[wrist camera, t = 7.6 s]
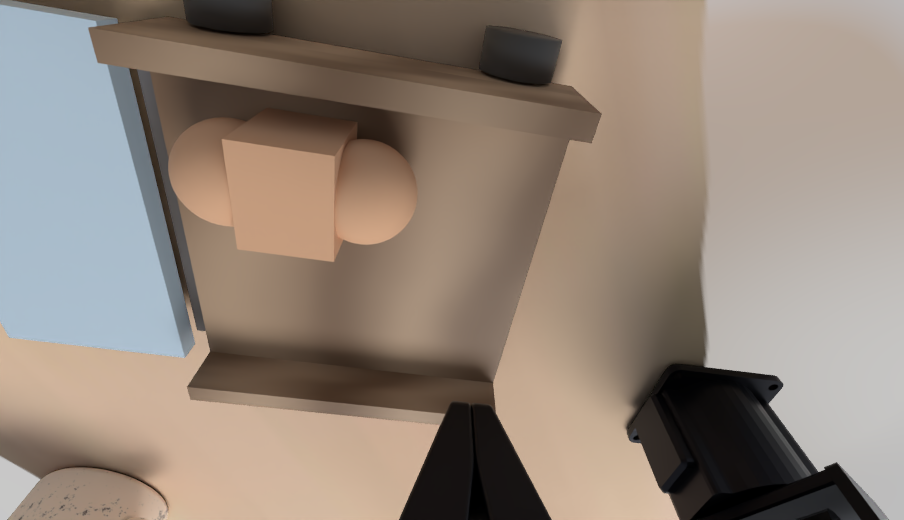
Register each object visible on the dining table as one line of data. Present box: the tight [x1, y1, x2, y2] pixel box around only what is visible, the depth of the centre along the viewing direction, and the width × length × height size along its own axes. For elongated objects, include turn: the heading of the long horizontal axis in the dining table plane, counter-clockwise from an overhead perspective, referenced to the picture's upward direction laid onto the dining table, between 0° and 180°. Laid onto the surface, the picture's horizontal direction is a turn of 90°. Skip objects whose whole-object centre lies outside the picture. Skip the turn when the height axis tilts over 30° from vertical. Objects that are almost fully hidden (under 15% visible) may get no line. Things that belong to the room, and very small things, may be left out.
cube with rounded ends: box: [168, 108, 418, 262], centre depth 13 cm, size 7×3×3 cm, turn 81°
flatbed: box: [88, 0, 601, 425], centre depth 17 cm, size 14×17×4 cm
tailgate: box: [0, 0, 195, 358], centre depth 16 cm, size 1×14×8 cm
